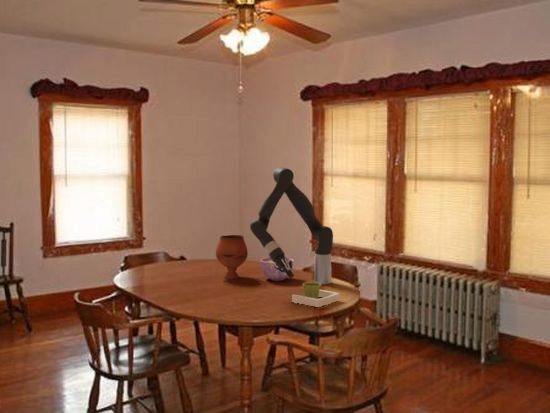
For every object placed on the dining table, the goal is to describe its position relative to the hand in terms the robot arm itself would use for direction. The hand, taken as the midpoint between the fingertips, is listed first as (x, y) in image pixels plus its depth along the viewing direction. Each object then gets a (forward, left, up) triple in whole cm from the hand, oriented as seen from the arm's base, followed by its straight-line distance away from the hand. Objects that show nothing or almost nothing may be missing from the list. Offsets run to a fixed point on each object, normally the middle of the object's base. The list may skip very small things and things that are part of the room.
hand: (292, 277), depth 294 cm
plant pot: (0, +13, -11) cm, 17 cm away
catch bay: (0, +15, -10) cm, 18 cm away
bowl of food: (-26, -32, -11) cm, 43 cm away
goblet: (-12, -56, -11) cm, 59 cm away
